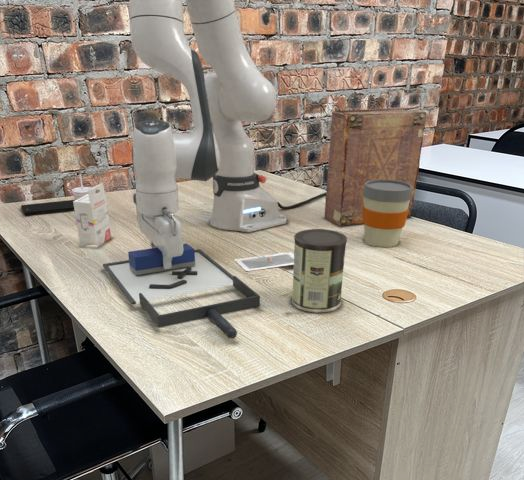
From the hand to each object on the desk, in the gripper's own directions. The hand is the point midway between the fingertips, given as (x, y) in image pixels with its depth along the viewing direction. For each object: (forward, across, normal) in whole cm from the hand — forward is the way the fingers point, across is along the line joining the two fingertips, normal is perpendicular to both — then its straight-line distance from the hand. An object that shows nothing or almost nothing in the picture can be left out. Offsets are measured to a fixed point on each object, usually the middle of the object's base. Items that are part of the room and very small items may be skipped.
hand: (162, 263), depth 127 cm
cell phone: (+2, +63, +13) cm, 65 cm away
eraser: (+1, 0, 0) cm, 1 cm away
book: (+2, +16, -70) cm, 72 cm away
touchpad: (+2, -7, -24) cm, 25 cm away
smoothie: (+3, +44, +7) cm, 45 cm away
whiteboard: (+2, -4, 0) cm, 5 cm away
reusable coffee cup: (+2, -3, -60) cm, 60 cm away
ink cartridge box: (+3, +27, +9) cm, 29 cm away
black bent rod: (+1, -11, +2) cm, 11 cm away
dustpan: (+2, -27, 0) cm, 27 cm away
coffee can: (+3, -28, -23) cm, 37 cm away
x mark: (+1, -6, -3) cm, 7 cm away
